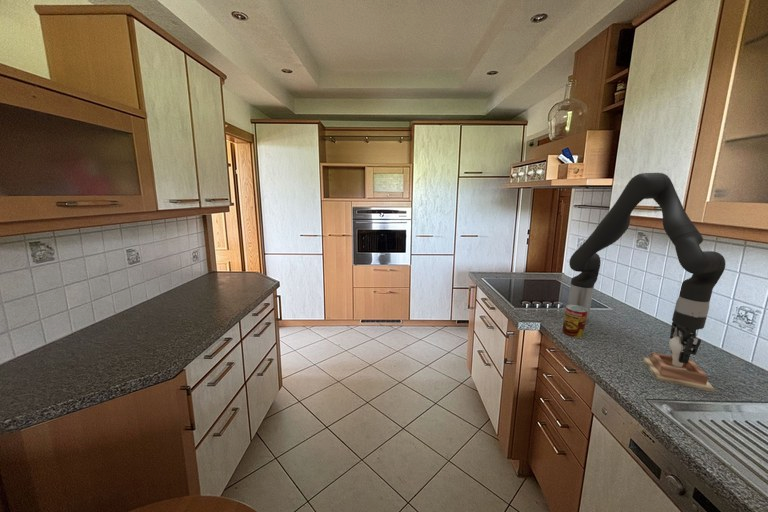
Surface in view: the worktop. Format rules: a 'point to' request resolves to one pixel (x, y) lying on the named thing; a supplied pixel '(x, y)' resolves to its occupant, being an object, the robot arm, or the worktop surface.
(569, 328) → the canned food
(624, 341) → the worktop surface
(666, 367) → the socket stand
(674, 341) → the lightbulb
